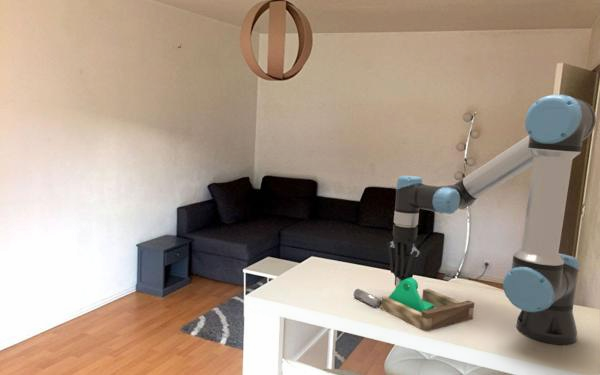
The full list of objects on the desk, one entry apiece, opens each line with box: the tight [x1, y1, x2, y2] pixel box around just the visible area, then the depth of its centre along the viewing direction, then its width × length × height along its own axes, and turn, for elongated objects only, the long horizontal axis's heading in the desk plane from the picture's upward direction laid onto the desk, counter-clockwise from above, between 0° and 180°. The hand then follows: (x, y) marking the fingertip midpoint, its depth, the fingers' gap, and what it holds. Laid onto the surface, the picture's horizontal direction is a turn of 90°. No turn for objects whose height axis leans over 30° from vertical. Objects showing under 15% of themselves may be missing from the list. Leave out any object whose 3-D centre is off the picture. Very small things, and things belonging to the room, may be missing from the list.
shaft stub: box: [353, 288, 382, 309], centre depth 151 cm, size 10×3×3 cm, turn 33°
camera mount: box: [388, 277, 434, 313], centre depth 146 cm, size 12×8×10 cm, turn 49°
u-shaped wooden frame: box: [380, 288, 475, 332], centre depth 144 cm, size 18×20×5 cm
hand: (399, 296), depth 154 cm, fingers closed
